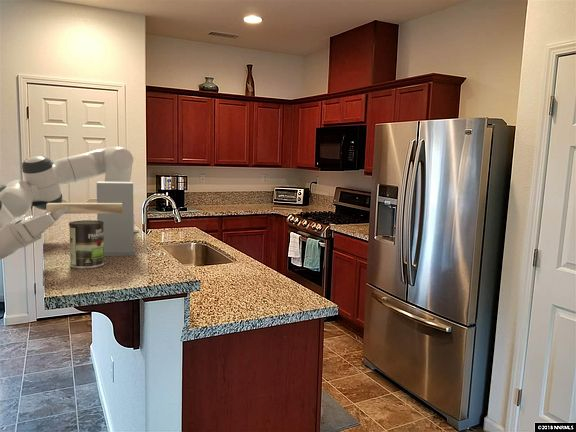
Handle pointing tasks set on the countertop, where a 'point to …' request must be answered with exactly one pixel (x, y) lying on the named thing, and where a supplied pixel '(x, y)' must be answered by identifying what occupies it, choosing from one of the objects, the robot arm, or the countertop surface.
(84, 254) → the coffee can
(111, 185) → the upright
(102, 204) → the rail
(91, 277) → the countertop surface
